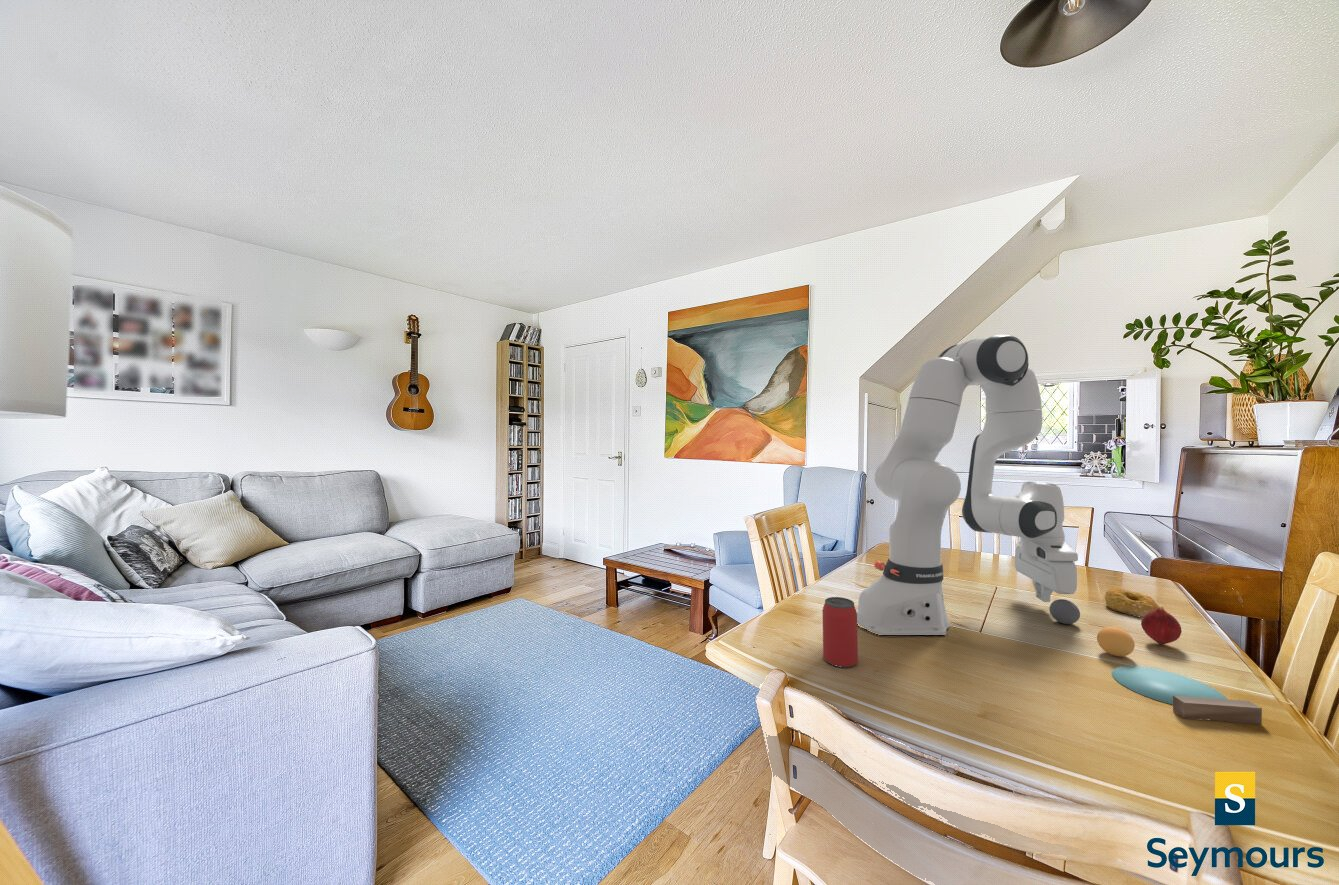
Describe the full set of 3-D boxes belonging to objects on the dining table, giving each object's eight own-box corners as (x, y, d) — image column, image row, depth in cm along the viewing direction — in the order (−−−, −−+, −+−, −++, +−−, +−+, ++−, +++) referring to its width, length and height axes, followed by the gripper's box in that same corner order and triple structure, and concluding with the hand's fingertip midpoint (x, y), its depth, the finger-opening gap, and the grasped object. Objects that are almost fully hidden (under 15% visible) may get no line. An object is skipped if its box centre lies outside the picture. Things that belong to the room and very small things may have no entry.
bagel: (1118, 616, 114) (1118, 596, 114) (1096, 601, 124) (1096, 583, 124) (1172, 622, 110) (1172, 602, 110) (1145, 606, 120) (1145, 588, 120)
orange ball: (1119, 662, 91) (1119, 634, 91) (1089, 650, 97) (1089, 623, 97) (1142, 660, 92) (1142, 632, 92) (1111, 647, 98) (1111, 621, 97)
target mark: (1184, 714, 75) (1184, 713, 75) (1091, 671, 88) (1091, 670, 88) (1253, 704, 77) (1253, 703, 77) (1152, 663, 91) (1152, 662, 91)
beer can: (832, 650, 99) (831, 593, 99) (863, 660, 94) (862, 601, 94) (817, 661, 94) (816, 601, 94) (848, 672, 90) (848, 610, 90)
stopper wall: (1261, 724, 72) (1261, 708, 72) (1184, 718, 74) (1184, 702, 74) (1248, 716, 74) (1248, 700, 74) (1173, 711, 76) (1173, 695, 76)
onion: (1189, 651, 95) (1189, 612, 95) (1156, 649, 96) (1155, 610, 96) (1165, 639, 101) (1165, 602, 101) (1134, 637, 102) (1134, 600, 102)
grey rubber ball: (1066, 629, 107) (1066, 605, 107) (1043, 619, 112) (1043, 596, 112) (1086, 626, 108) (1086, 603, 108) (1062, 617, 113) (1062, 595, 113)
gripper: (1007, 536, 130) (1008, 586, 130) (1051, 555, 110) (1052, 614, 110) (1033, 536, 128) (1033, 587, 129) (1083, 556, 108) (1084, 615, 109)
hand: (1043, 600), depth 119 cm, fingers closed
